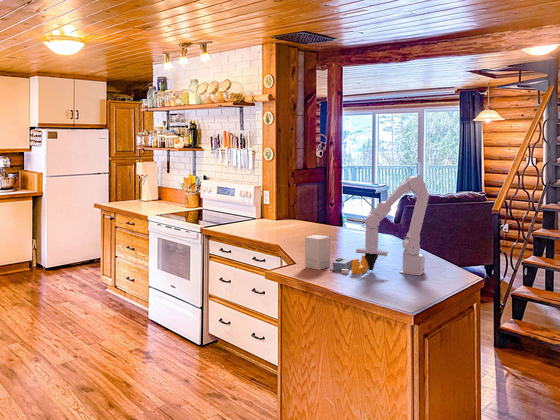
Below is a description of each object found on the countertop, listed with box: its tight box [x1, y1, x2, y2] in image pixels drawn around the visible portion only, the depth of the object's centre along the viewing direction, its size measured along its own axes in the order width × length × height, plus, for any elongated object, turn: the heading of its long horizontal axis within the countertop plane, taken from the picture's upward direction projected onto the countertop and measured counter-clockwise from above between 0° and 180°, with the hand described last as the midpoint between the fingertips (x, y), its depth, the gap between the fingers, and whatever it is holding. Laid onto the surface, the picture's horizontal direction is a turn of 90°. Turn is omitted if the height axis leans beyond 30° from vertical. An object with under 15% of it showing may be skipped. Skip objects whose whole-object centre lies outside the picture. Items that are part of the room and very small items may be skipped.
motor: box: [329, 257, 361, 275], centre depth 231 cm, size 10×17×4 cm, turn 149°
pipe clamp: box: [351, 254, 369, 275], centre depth 227 cm, size 12×4×6 cm, turn 144°
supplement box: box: [304, 234, 331, 271], centre depth 234 cm, size 9×9×15 cm
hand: (371, 269), depth 224 cm, fingers closed
